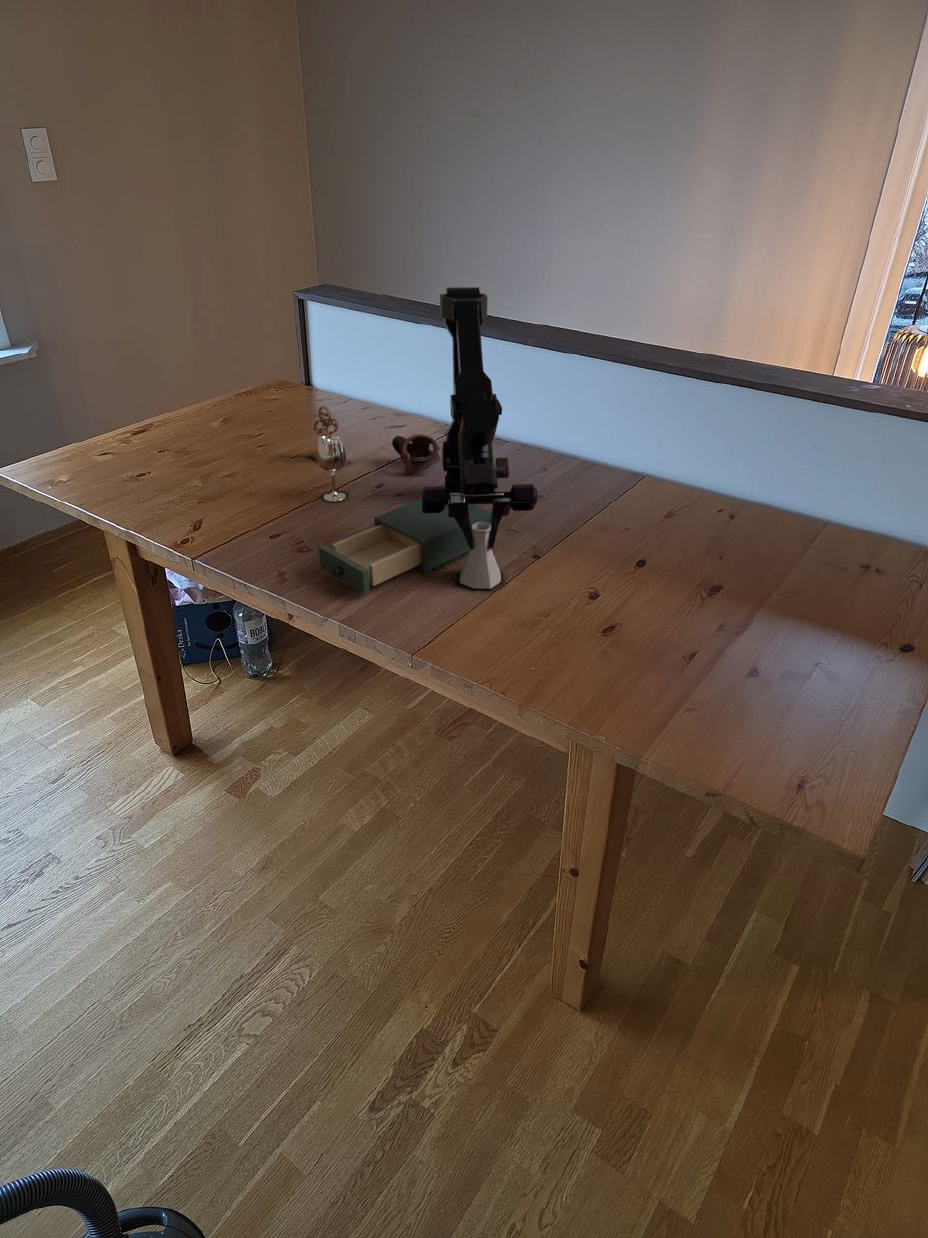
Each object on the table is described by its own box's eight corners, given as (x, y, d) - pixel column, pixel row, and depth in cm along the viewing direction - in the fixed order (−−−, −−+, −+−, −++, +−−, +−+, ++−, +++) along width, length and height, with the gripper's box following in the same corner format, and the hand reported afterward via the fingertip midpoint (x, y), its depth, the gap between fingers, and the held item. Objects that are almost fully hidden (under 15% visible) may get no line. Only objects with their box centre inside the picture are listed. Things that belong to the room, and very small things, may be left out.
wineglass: (343, 504, 159) (338, 446, 152) (316, 501, 160) (310, 443, 153) (352, 492, 164) (348, 435, 157) (325, 489, 165) (320, 433, 158)
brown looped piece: (309, 456, 179) (304, 404, 173) (323, 452, 182) (318, 399, 175) (334, 467, 174) (330, 413, 168) (348, 462, 176) (344, 409, 170)
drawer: (358, 597, 128) (356, 574, 126) (314, 571, 135) (312, 549, 133) (433, 561, 138) (433, 540, 136) (389, 538, 145) (388, 518, 143)
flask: (506, 572, 137) (509, 520, 131) (494, 593, 131) (496, 539, 126) (466, 565, 139) (467, 513, 133) (452, 585, 133) (452, 532, 128)
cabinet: (424, 572, 137) (424, 542, 133) (375, 546, 144) (374, 517, 141) (490, 541, 146) (491, 511, 143) (441, 518, 154) (441, 490, 151)
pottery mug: (448, 463, 178) (448, 439, 170) (427, 494, 174) (426, 471, 167) (402, 441, 180) (400, 417, 173) (380, 471, 177) (377, 447, 169)
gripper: (421, 439, 125) (425, 535, 122) (539, 437, 126) (546, 532, 123) (420, 467, 136) (423, 555, 133) (529, 464, 137) (535, 552, 134)
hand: (481, 548), depth 130 cm, fingers closed on flask, 3 cm apart
